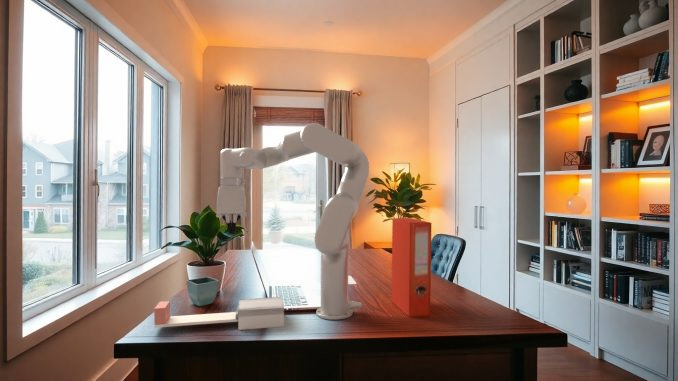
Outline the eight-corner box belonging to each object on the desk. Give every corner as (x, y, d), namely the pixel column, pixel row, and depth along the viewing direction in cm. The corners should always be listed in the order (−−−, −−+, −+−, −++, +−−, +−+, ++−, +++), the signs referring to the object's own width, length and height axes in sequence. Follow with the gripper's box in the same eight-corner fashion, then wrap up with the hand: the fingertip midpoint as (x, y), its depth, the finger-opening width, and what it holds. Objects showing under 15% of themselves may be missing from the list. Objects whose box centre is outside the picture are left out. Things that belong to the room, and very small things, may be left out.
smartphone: (340, 284, 175) (335, 276, 190) (340, 286, 175) (335, 277, 190) (357, 283, 177) (350, 275, 191) (357, 285, 177) (350, 277, 191)
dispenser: (281, 314, 137) (281, 296, 136) (284, 326, 125) (283, 307, 125) (236, 317, 133) (236, 299, 133) (235, 330, 122) (235, 310, 122)
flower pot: (219, 303, 148) (219, 280, 148) (197, 309, 142) (197, 284, 142) (207, 299, 154) (207, 276, 154) (186, 304, 148) (185, 280, 148)
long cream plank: (243, 313, 131) (243, 296, 131) (243, 321, 125) (243, 302, 124) (159, 319, 126) (159, 301, 126) (154, 327, 119) (154, 308, 119)
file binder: (411, 300, 152) (411, 217, 151) (431, 315, 135) (431, 222, 134) (391, 302, 150) (391, 218, 149) (408, 317, 133) (409, 222, 133)
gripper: (252, 183, 148) (252, 231, 148) (210, 183, 145) (211, 232, 145) (252, 183, 141) (252, 234, 141) (208, 183, 137) (209, 235, 138)
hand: (231, 233), depth 143 cm, fingers closed
